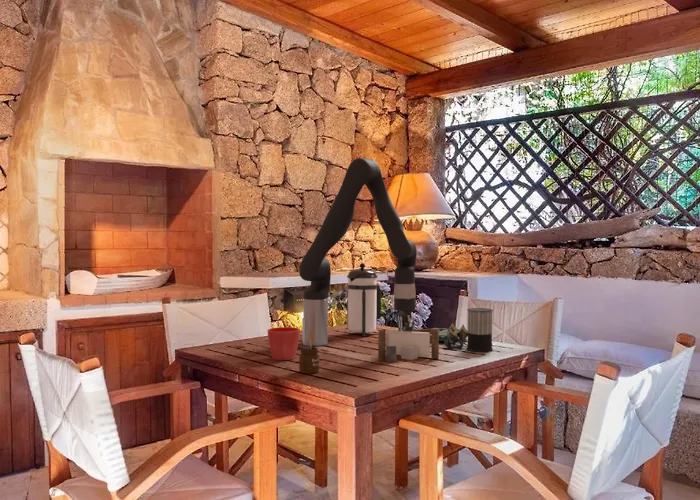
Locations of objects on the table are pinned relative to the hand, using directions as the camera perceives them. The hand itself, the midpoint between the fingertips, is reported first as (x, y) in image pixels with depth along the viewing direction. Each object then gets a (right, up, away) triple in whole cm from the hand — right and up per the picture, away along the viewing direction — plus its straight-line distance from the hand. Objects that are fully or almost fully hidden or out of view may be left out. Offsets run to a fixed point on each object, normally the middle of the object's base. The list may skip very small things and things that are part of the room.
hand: (405, 345), depth 212 cm
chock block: (+1, -3, -9) cm, 9 cm away
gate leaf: (0, -2, -5) cm, 6 cm away
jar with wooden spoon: (-32, -3, -30) cm, 44 cm away
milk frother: (+24, -3, +9) cm, 26 cm away
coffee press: (-14, -2, +44) cm, 47 cm away
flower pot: (-42, -3, -9) cm, 43 cm away
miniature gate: (+14, -3, +32) cm, 35 cm away
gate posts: (0, -3, -12) cm, 12 cm away
